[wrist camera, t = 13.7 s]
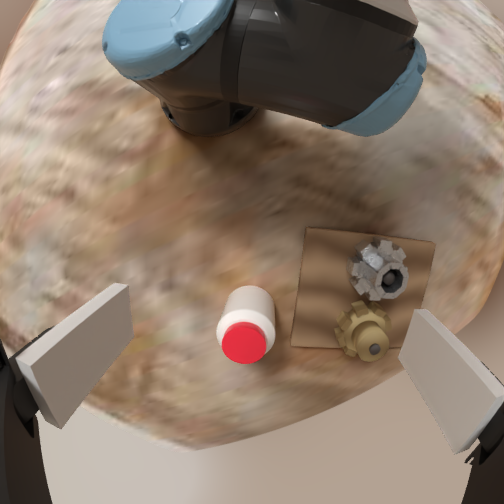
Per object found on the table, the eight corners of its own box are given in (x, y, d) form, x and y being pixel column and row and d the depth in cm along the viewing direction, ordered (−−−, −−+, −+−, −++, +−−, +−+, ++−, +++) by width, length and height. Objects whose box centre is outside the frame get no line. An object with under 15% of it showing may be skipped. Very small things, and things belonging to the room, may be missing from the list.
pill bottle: (277, 327, 43) (278, 368, 32) (229, 330, 44) (218, 371, 33) (272, 282, 41) (272, 316, 30) (222, 287, 42) (206, 321, 31)
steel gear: (351, 233, 37) (368, 243, 30) (403, 239, 37) (426, 250, 30) (342, 291, 39) (354, 311, 32) (392, 293, 39) (411, 312, 32)
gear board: (305, 226, 39) (316, 239, 30) (431, 241, 38) (462, 255, 29) (289, 341, 43) (293, 375, 34) (404, 342, 42) (425, 370, 34)
